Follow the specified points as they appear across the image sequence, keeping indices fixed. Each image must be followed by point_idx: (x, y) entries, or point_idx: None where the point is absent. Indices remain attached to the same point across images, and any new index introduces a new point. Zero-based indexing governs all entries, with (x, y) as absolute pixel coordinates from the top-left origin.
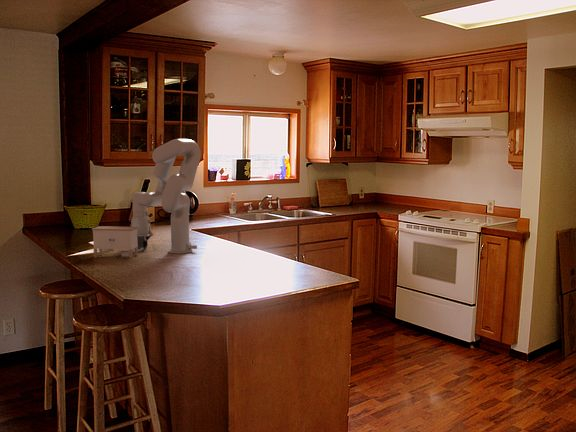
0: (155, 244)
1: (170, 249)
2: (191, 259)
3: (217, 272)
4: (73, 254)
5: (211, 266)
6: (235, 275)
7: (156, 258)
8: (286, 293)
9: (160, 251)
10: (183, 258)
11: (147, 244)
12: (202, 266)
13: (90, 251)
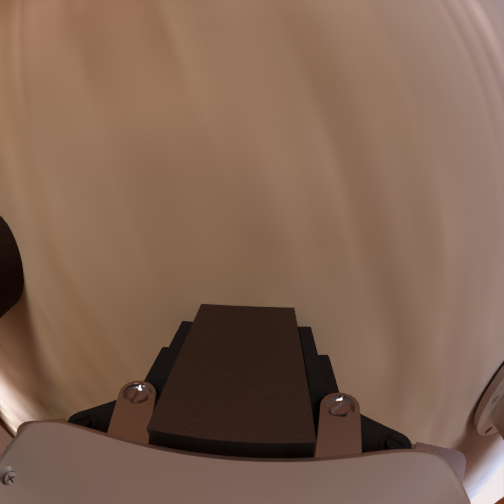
0: (324, 22)
1: (493, 403)
2: (495, 460)
3: (484, 496)
4: (13, 429)
5: (497, 479)
6: (497, 491)
7: None
8: (497, 500)
9: (437, 407)
10: (482, 463)
11: (330, 363)
12: (483, 488)
13: (2, 388)
